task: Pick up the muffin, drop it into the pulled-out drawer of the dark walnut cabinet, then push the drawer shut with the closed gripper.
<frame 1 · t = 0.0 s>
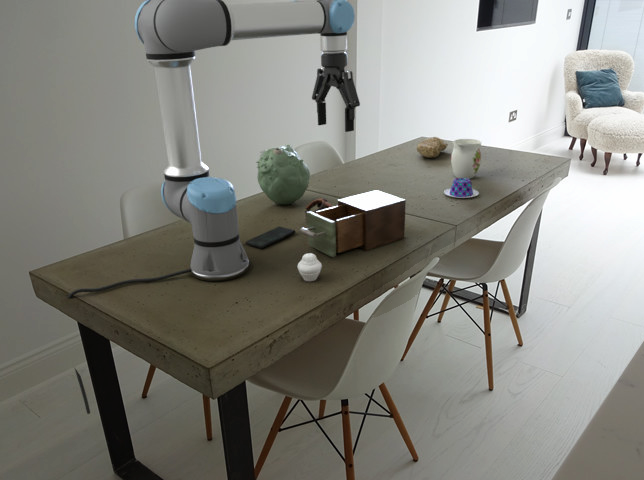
hand: (335, 127, 180), 28 cm above the table, tool pointing down, fingers open, 13 cm apart
smartphone: (271, 239, 177), on the table
pudding: (461, 195, 210), on the table
brown rock: (431, 155, 261), on the table
pitcher: (465, 176, 230), on the table
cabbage: (285, 204, 207), on the table
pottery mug: (322, 221, 190), on the table
cabinet: (371, 238, 175), on the table
muffin: (310, 279, 152), on the table
drawer: (332, 230, 165), point 6 cm above the table, slide at 10.0 cm
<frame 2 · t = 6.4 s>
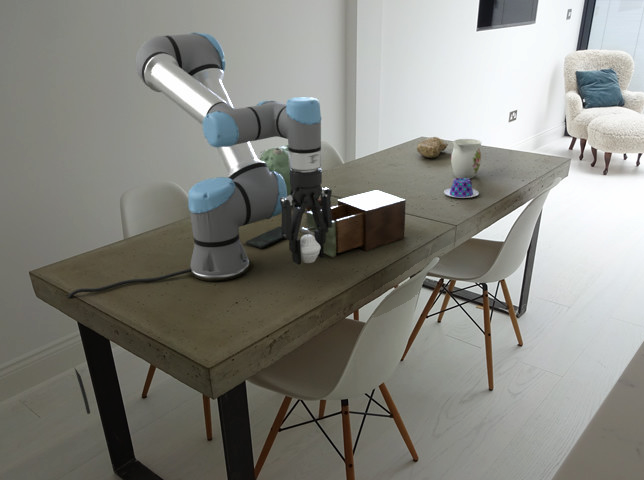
hand: (308, 259, 149), 5 cm above the table, tool pointing down, fingers closed on muffin, 6 cm apart
muffin: (308, 261, 149), point 5 cm above the table, touching gripper
everything else where it was.
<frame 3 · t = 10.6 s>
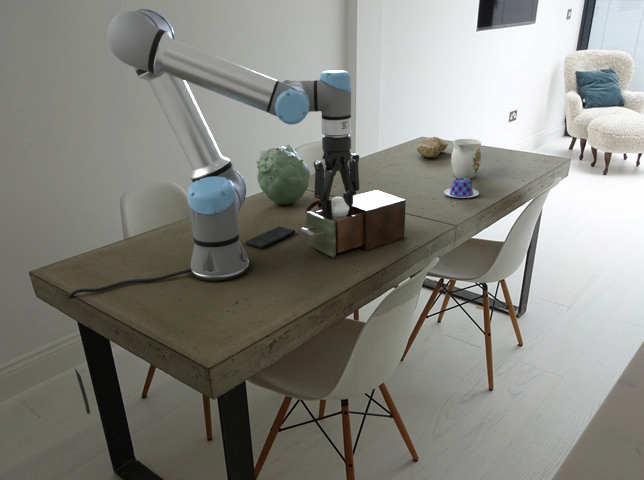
hand: (337, 219, 165), 9 cm above the table, tool pointing down, fingers closed on muffin, 6 cm apart
muffin: (338, 221, 165), point 8 cm above the table, touching gripper
everything else where it was.
when the fingers open (11 cm above the table, at t = 23.1 s): muffin drops 8 cm, point 2 cm above the table.
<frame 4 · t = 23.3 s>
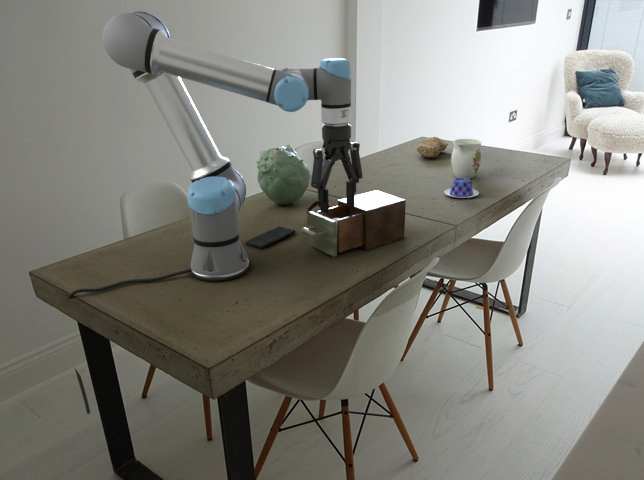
hand: (337, 208, 164), 12 cm above the table, tool pointing down, fingers open, 8 cm apart
muffin: (339, 240, 168), point 2 cm above the table
drawer: (333, 230, 166), point 6 cm above the table, slide at 9.6 cm
everything else where it was.
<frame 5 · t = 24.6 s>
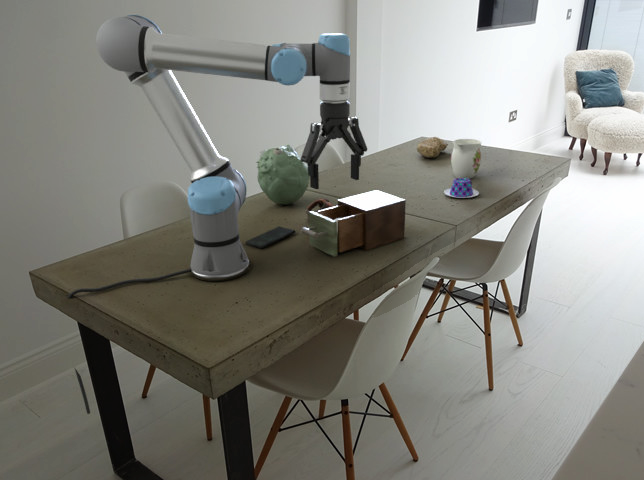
hand: (335, 183, 160), 19 cm above the table, tool pointing down, fingers open, 13 cm apart
muffin: (340, 242, 168), point 2 cm above the table, touching drawer
drawer: (334, 230, 166), point 6 cm above the table, slide at 9.5 cm, touching muffin
everything else where it was.
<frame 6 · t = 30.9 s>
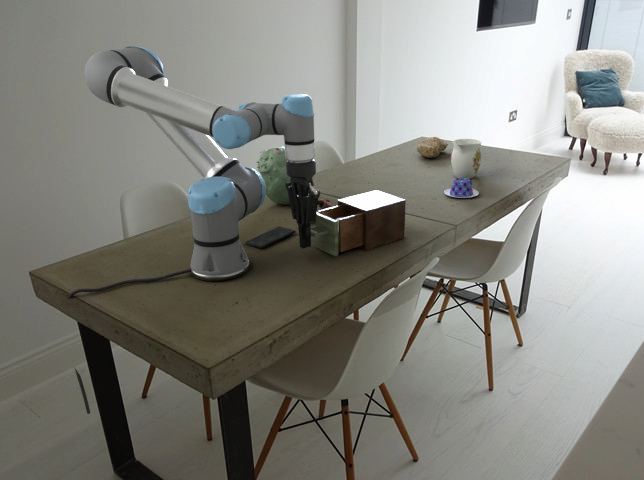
hand: (305, 246, 161), 4 cm above the table, tool pointing down, fingers closed
drawer: (335, 229, 166), point 6 cm above the table, slide at 9.1 cm, touching gripper, muffin
everything else where it was.
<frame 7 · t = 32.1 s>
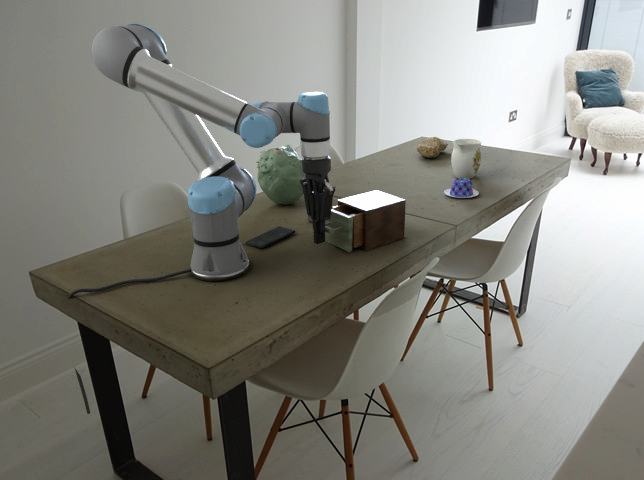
hand: (319, 242, 164), 4 cm above the table, tool pointing down, fingers closed
muffin: (354, 237, 171), point 2 cm above the table, touching drawer
drawer: (348, 225, 168), point 6 cm above the table, slide at 4.4 cm, touching gripper, muffin
everything else where it was.
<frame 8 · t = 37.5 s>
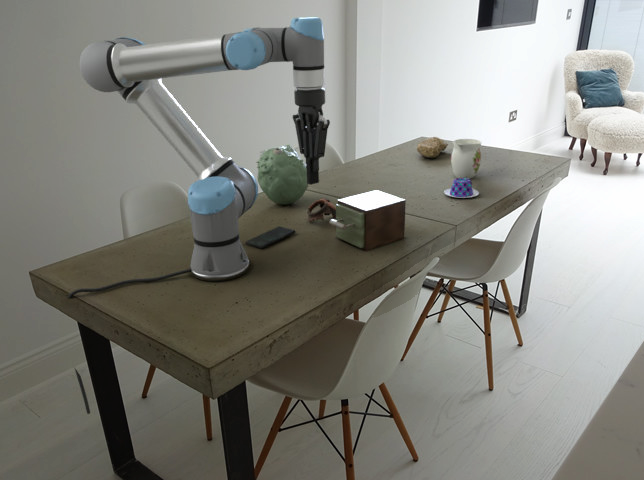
hand: (313, 183, 156), 20 cm above the table, tool pointing down, fingers closed
muffin: (366, 234, 173), point 2 cm above the table, touching drawer
drawer: (360, 222, 171), point 6 cm above the table, slide at 0.0 cm, touching cabinet, muffin
everything else where it was.
at the end: muffin inside the target area in the cabinet (2.2 cm from its centre), point 1.8 cm above the cabinet's base; drawer slide at 0.0 cm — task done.
